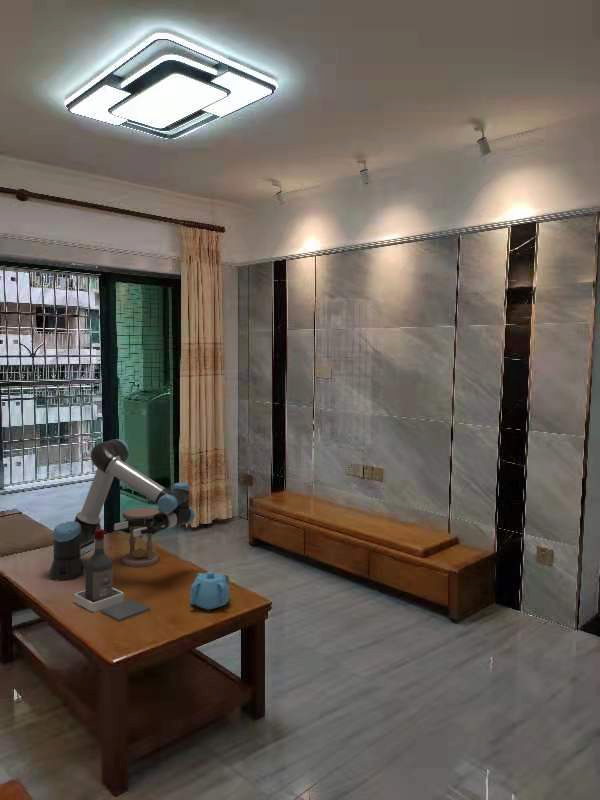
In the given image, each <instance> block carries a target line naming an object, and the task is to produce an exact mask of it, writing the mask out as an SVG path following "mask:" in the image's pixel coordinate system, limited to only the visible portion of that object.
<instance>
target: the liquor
mask: <svg viewBox="0 0 600 800" xmlns="http://www.w3.org/2000/svg"><path fill="white" fill-rule="evenodd" d="M104 542H105V529H103V528H101V529H97V530H95V539H94V552H93V554H92V555H91V557H89V559H88V560H86V561H87V562H86V563H85V589H84V590H85V599H87V600H89V601H91V602H93V603H94V602H97V601H100V600H103V599H106V598H109V597H112V587H114V586H113V583H114V581H113V578H114V577H113V574H114V570H113V568H114V567H113V565H114V564H113V563H114V562H113V560H112V559H111V558H110V557H109V556H108V555H107V554H106V553H105V549H104V548H105V546H104Z"/></svg>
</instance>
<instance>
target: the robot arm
mask: <svg viewBox="0 0 600 800" xmlns="http://www.w3.org/2000/svg"><path fill="white" fill-rule="evenodd" d="M130 451H131V450H130V448H129V445H128V444H127V443H126V442H125V441H124V440H122V439H118V438H115V439H113V438H112V439H110V440H107V441H102V442H98V443H97V444H96V445H94V447H92V449H91V452H90V460H91V463H92V464H93V465H94V466H95V467H96V472H95V474H94V477H93V479H92V482H91V485H90V487H89V490H88V492H87V495H86V498H85V500H84V503H83V506H82V508H81V511H79V512H77V513H76V515H75V518H74V520H72V521H70V520H69V521H65V522H62V523H59V524H58V525H56V526H55V527H54V529H53V534H52V535H53V536H52V537H53V560H52V564H51V565H50V569H49V576H50V577H51V578H53V579H52V580H54V579H58V580H57V581H69V580H75V579H78V578H81V577H83V576H84V575H85V574H86V567H85V566H84V563H83V559H82V555H81V546H83V545H85V544H87V543H89V542H91V541H93V540H94V541H95V530H97V529H102V525H101V520H102V519H101V517H100V515H101V513H102V510H103V507H104V504H105V502H106V499H107V497H108V494H109V491H110V488H111V486H112V483H113V481H114V477H115V478H117V479H118V480H119V481H121V482H123V483H124V484H126V485H128V486H129V487H130V488H132V489H134V490H135V491H137V492H138V493H140V494H141V495H143V496H145V497H147V498H148V499H149V500H150V501H152V502H155V503H156V504H157V506H158V509H159V511H161V512H159V513H158V514H155V515H154V517H153V518H149V519H147V517H146V518H138V519H125V520H124V521H122V522H117V523H114V525H113V529H114V531H116V532H117V531H119V530H124V529H129V527H133V526H142V527H144V528H140V529H136V530H133V537H135V538H136V537H139V536H140V535H142V536H144V535H147V533H148V534H150V533H152V535H155V534H157V533H158V532H160V531H163V530H167V529H169V530H171V528H175V527H178V526H182V525H187V524H190V523H192V522H193V521H194V519H195V517H196V513H195V511H194V509H193V508H192V507H191V506H190V492H191V491H190V489H191V488H190V484H189V483H188V482H176V483H174V484H173V485H172V491H170V490H168V489H167V488H166V487H164V486H162V485H161V484H159V483H158V482H156V481H155V480H153V479H151V478H150V477H148V476H147V475H145V474H144V473H142V472H141V471H139V470H137V469H135V468H134V467H132V465H130V464H129V463H126V461H127V460H128V459H129V457H130V454H131V453H130ZM144 524H145V525H144ZM147 527H148V529H147ZM50 577H49V578H50ZM51 578H50V579H51Z"/></svg>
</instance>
